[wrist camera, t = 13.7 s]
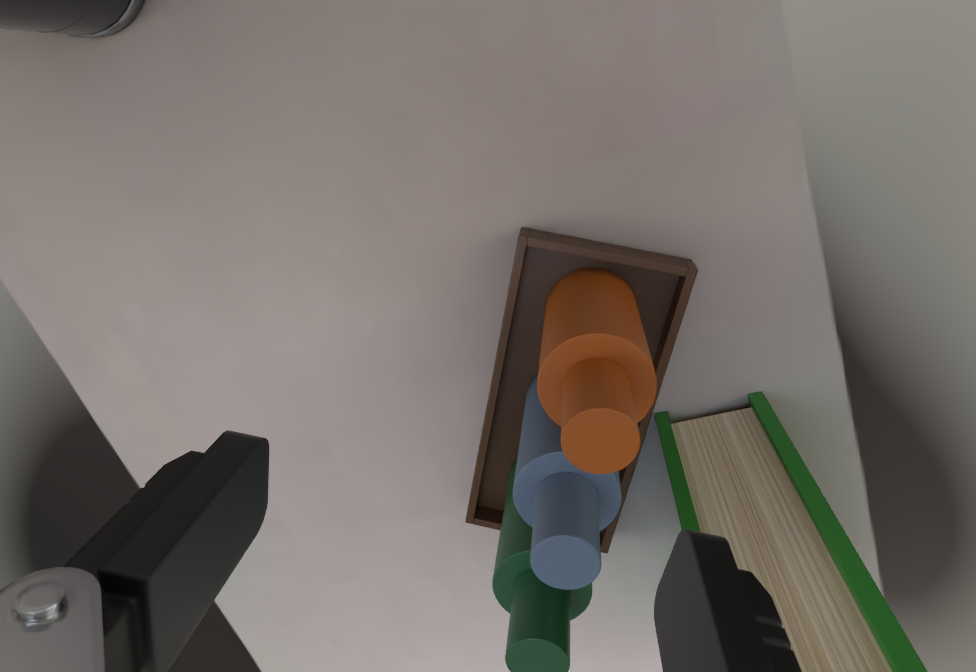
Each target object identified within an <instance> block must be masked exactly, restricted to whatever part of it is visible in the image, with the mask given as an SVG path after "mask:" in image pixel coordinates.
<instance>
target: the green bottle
mask: <svg viewBox="0 0 976 672" xmlns="http://www.w3.org/2000/svg"><path fill="white" fill-rule="evenodd" d="M516 464H517V458H516V459H515V460H514V462H513V464H512V466H511V469H510V474H509V480H508V487H507V493H506V499H505V506H504V512H503V518H502V524H501V531H500V537H499V543H498V550H497V556H496V562H495V568H494V575H493V582H492V583H493V591H494V594H495V596H496V598H497V600H498V602H499V603H500V605H501V606H502V607H503V608H504V609H505V610H506V611H507V612H509V613H510V621H509V630H508V638H507V647H506V656H505V661H506V664H507V667H508V669H509V670H510V671H511V672H568V670H569V667H570V620H572V619H574V618H576V617H577V616H579V615H580V614H581V613H582V612H583V611H584V610H585V609H586V608H587V606H588V605H589V603H590V600H591V597H592V582H591V583H590V584H588V585H587V586H585V587H582V588H579V589H573V590H563V589H558V588H554V587H551V586H549V585H547V584H545V583H544V582H542V581H541V580H540V579H539V578H538V577H537V576H536V575H535V573H534V572H533V570H532V567H531V564H530V554H531V542H532V531H533V528H532V527H531V526H530V525H528V524H527V523H526V522H525V521H524V520H523V518H522V517H521V516H520V514H519V513H518V511H517V509H516V507H515V504H514V500H513V485H514V478H515V471H516Z"/></svg>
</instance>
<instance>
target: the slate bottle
mask: <svg viewBox="0 0 976 672" xmlns="http://www.w3.org/2000/svg"><path fill="white" fill-rule="evenodd" d="M537 378H538V374H537V375H536V376H535V377H534V379H533V380H532V381H531V383H530V385H529V387H528V390H527V395H526V402H525V409H524V416H523V423H522V430H521V437H520V444H519V451H518V457H517V464H516V471H515V478H514V485H513V500H514V504H515V507H516V509H517V511H518V513H519V514H520V516H521V517H522V518H523V520H524V521H525V522H526V523H527V524H528V525H530V526H531V527H532V528H533V531H532V542H531V554H530V564H531V567H532V570H533V572H534V573H535V575H536V576H537V577H538V578H539V579H540V580H541V581H542V582H544V583H545V584H547V585H549V586H551V587H554V588H558V589H563V590H573V589H579V588H582V587H585V586H587V585H588V584H590V583H591V582H593V581H594V580H595V579H596V577H597V576H598V574H599V572H600V569H601V549H600V531H602V530H603V529H605V528H606V527H607V526H608V525H609V524H610V523H611V522H612V521H613V520H614V518H615V517H616V515H617V513H618V511H619V509H620V505H621V497H622V496H621V486H620V478H619V471H617V472H614V473H610V474H592V473H588V472H585V471H583V470H580V469H579V468H577V467H575V466H574V465H573V464H572V463H571V462H570V461H569V460H568V459H567V458H566V456H565V455H564V453H563V451H562V447H561V427H560V426H559V425H558V424H556V423H555V422H554V421H553V420H552V419H551V418H550V417H549V416H548V415H547V413H546V412H545V410H544V409H543V407H542V405H541V403H540V400H539V396H538V391H537Z"/></svg>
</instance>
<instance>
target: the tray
mask: <svg viewBox="0 0 976 672" xmlns="http://www.w3.org/2000/svg"><path fill="white" fill-rule="evenodd" d="M583 268H601V269H605V270H608V271H611V272H613V273H615V274H616V275H618V276H619V277H621V278H622V279H623V280H624V281H625V282H626V283H627V284H628V285H629V287H630V288H631V290H632V292H633V294H634V297H635V300H636V304H637V307H638V311H639V315H640V318H641V322H642V326H643V329H644V333H645V337H646V340H647V344H648V348H649V351H650V355H651V359H652V362H653V366H654V370H655V374H656V378H657V391H656V396H655V400H654V402H653V405H652V407H651V408H650V410H649V412H648V413H647V414H646V416H645V417H644V418H643V419H642V420H641V421H640V422H639V423H638V428H639V433H640V448H639V451H638V453H637V455H636V457H635V458H634V460H633V461H632V462H631V463H630V464H629V465H628V466H626V467H625V468H623V469H621V470H619V478H620V486H621V496H622V497H621V505H620V509H619V511H618V513H617V515H616V517H615V518H614V520H613V521H612V522H611V523H610V524H609V525H608V526H607V527H606V528H605V529H603V530H602V531H600V549H601V552H603V553H608V550H609V547H610V544H611V540H612V537H613V534H614V531H615V528H616V525H617V522H618V519H619V515H620V512H621V509H622V506H623V503H624V500H625V497H626V494H627V490H628V487H629V484H630V481H631V478H632V475H633V472H634V469H635V465H636V462H637V459H638V456H639V453H640V450H641V447H642V444H643V440H644V437H645V434H646V431H647V428H648V425H649V422H650V419H651V415H652V412H653V409H654V406H655V403H656V400H657V397H658V394H659V390H660V387H661V384H662V381H663V378H664V375H665V372H666V369H667V365H668V362H669V359H670V356H671V353H672V350H673V347H674V344H675V340H676V337H677V334H678V331H679V328H680V325H681V322H682V319H683V315H684V312H685V309H686V306H687V303H688V300H689V297H690V294H691V290H692V287H693V284H694V281H695V278H696V275H697V272H698V269H697V267H696V266H695V264H694V263H693V261H692V260H691V259H685V258H680V257H675V256H670V255H665V254H659V253H654V252H649V251H644V250H638V249H633V248H628V247H623V246H618V245H612V244H607V243H602V242H597V241H591V240H586V239H581V238H576V237H570V236H565V235H560V234H555V233H550V232H544V231H539V230H534V229H529V228H523V227H522V228H521V230H520V233H519V237H518V242H517V248H516V253H515V258H514V264H513V269H512V274H511V280H510V285H509V290H508V296H507V301H506V307H505V312H504V317H503V323H502V328H501V333H500V339H499V344H498V350H497V355H496V360H495V366H494V371H493V376H492V382H491V387H490V392H489V398H488V403H487V409H486V414H485V419H484V425H483V430H482V435H481V441H480V446H479V452H478V457H477V462H476V468H475V473H474V478H473V484H472V489H471V495H470V500H469V505H468V511H467V516H466V523H471V524H475V525H479V526H484V527H489V528H493V529H498V530H501V524H502V518H503V512H504V506H505V499H506V493H507V487H508V480H509V474H510V469H511V466H512V464H513V462H514V460H515V459H516V458H517V457H518V451H519V444H520V437H521V430H522V423H523V416H524V409H525V402H526V395H527V390H528V387H529V385H530V383H531V381H532V380H533V379H534V377H535V376H536V375H537V374H538V370H539V361H540V353H541V344H542V335H543V327H544V318H545V310H546V302H547V299H548V296H549V294H550V291H551V290H552V288H553V287H554V285H555V284H556V283H557V282H558V281H559V280H560V279H561V278H563V277H564V276H565V275H567V274H569V273H571V272H573V271H576V270H579V269H583Z"/></svg>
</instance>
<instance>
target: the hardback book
mask: <svg viewBox="0 0 976 672" xmlns="http://www.w3.org/2000/svg"><path fill="white" fill-rule="evenodd" d="M748 398H749V403H750V408H746V409H741V410H736V411H731V412H726V413H721V414H716V415H711V416H706V417H702V418H697V419H692V420H687V421H682V422H677V423H672V424H671V423H670V419H669V415H668V412H667V411H666V412H661V413H656V414H655V419H656V423H657V427H658V431H659V435H660V440H661V444H662V448H663V452H664V456H665V461H666V465H667V469H668V473H669V477H670V482H671V486H672V490H673V494H674V498H675V503H676V507H677V511H678V515H679V519H680V524H681V528H682V530H683V529H689V530H693V531H698V532H703V533H708V534H712V535H717V536H722V537H725V538H726V539H727V541H728V542H729V545H730V548H731V550H732V553H733V556H734V559H735V562H736V564H737V567H738V569H741V570H746V571H750V572H752V573H753V574H754V576H755V577H756V578H757V579H758V580H759V582H760V583H761V584H762V585H763V587H764V588H765V589H766V590H767V592H768V593H769V594H770V595H771V596H772V599H773V601H774V604H775V606H776V609H777V611H778V614H779V616H780V619H781V621H782V628H784V629H785V631H786V634H787V636H788V639H789V641H790V644H791V647H790V648H791V650H793V651H794V654H795V656H796V658H797V661H798V663H799V666H800V668H801V671H802V672H927V670H926V668H925V667H924V665H923V663H922V662H921V660H920V658H919V656H918V655H917V653H916V651H915V650H914V648H913V646H912V645H911V643H910V641H909V640H908V638H907V636H906V634H905V633H904V631H903V629H902V628H901V626H900V624H899V623H898V621H897V619H896V618H895V616H894V614H893V613H892V611H891V609H890V607H889V606H888V604H887V602H886V601H885V599H884V597H883V596H882V594H881V592H880V590H879V589H878V587H877V585H876V584H875V582H874V580H873V579H872V577H871V575H870V574H869V572H868V570H867V568H866V567H865V565H864V563H863V562H862V560H861V558H860V557H859V555H858V553H857V552H856V550H855V548H854V547H853V545H852V543H851V541H850V540H849V538H848V536H847V535H846V533H845V531H844V530H843V528H842V526H841V525H840V523H839V521H838V519H837V518H836V516H835V514H834V513H833V511H832V509H831V508H830V506H829V504H828V503H827V501H826V499H825V497H824V496H823V494H822V492H821V491H820V489H819V487H818V486H817V484H816V482H815V481H814V479H813V477H812V475H811V474H810V472H809V470H808V469H807V467H806V465H805V464H804V462H803V460H802V459H801V457H800V455H799V454H798V452H797V450H796V448H795V447H794V445H793V443H792V442H791V440H790V438H789V437H788V435H787V433H786V432H785V430H784V428H783V426H782V425H781V423H780V421H779V420H778V418H777V416H776V415H775V413H774V411H773V410H772V408H771V406H770V404H769V403H768V401H767V399H766V398H765V396H764V394H763V393H762V391H761V392H756V393H752V394H748Z"/></svg>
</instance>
